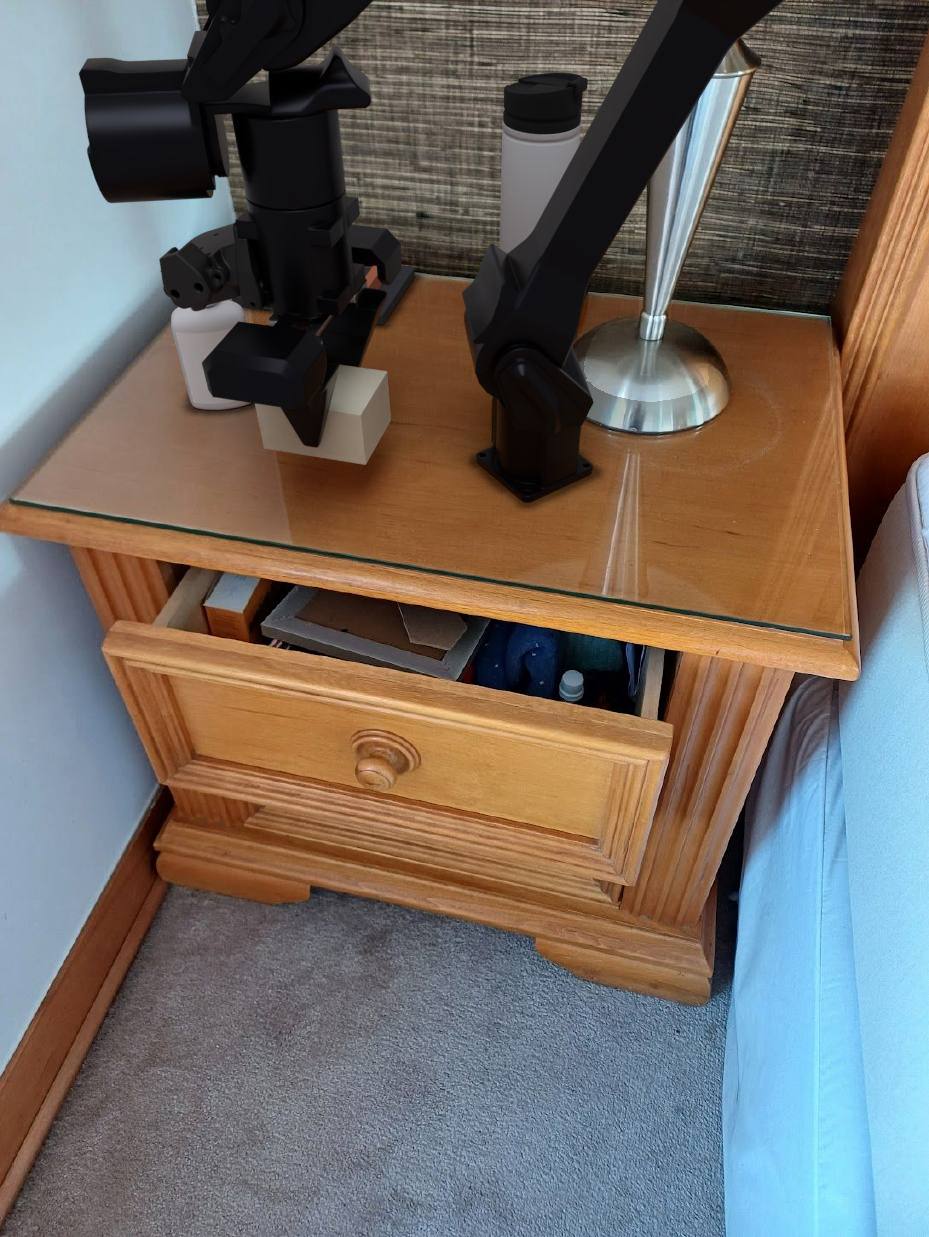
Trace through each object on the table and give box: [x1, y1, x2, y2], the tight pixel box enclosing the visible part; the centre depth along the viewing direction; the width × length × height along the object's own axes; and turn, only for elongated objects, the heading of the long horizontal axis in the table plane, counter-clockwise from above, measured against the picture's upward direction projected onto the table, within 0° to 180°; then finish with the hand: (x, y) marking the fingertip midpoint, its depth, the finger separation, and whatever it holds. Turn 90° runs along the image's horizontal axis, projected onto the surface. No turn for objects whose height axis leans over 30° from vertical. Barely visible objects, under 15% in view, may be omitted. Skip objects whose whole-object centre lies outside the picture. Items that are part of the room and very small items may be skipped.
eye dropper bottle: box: [170, 299, 251, 411], centre depth 70 cm, size 4×6×12 cm
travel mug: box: [499, 72, 589, 254], centre depth 76 cm, size 6×7×20 cm
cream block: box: [254, 365, 392, 466], centre depth 62 cm, size 8×6×4 cm
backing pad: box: [231, 265, 416, 326], centre depth 87 cm, size 15×10×2 cm, turn 75°
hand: (327, 421), depth 63 cm, fingers closed on cream block, 5 cm apart
